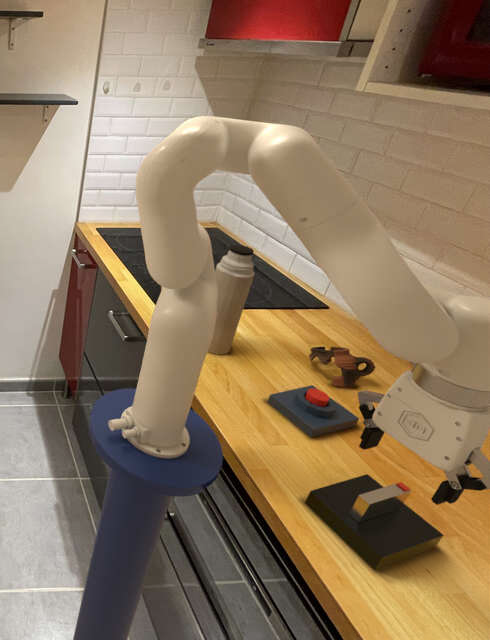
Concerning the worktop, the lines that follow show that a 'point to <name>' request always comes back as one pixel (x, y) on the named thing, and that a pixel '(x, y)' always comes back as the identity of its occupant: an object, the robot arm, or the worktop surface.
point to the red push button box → (312, 412)
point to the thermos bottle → (231, 295)
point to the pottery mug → (343, 364)
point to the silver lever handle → (379, 502)
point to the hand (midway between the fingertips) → (401, 471)
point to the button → (317, 397)
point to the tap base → (372, 524)
